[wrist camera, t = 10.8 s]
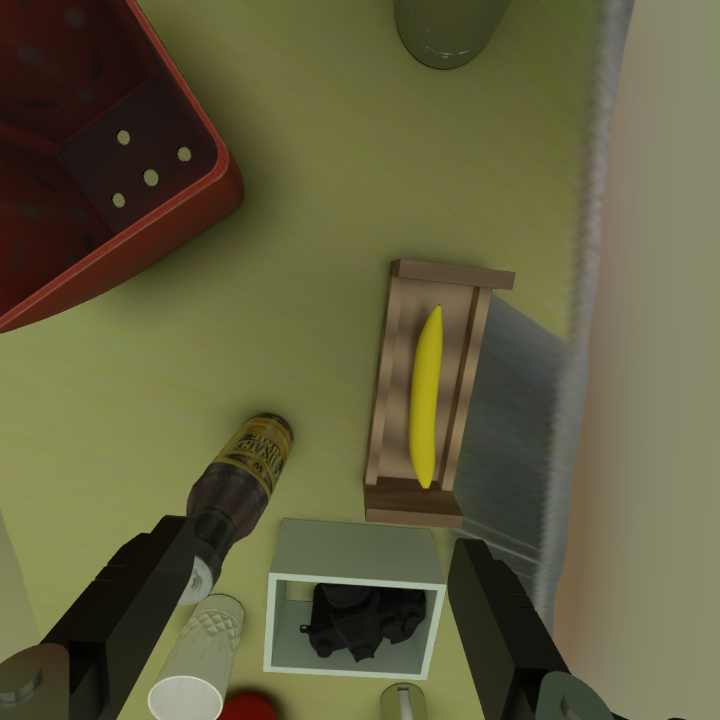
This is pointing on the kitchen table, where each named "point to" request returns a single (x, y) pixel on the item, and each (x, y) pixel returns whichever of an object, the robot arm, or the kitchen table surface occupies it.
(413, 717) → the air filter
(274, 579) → the camera caddy
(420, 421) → the banana
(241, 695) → the ceramic cup
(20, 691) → the robot arm
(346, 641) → the film camera
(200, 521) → the sauce bottle
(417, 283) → the cradle
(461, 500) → the kitchen table surface
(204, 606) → the white cup
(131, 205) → the plant pot
